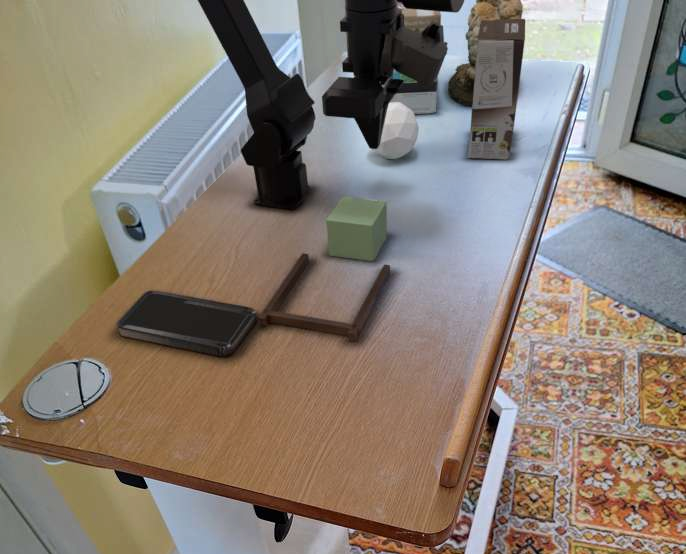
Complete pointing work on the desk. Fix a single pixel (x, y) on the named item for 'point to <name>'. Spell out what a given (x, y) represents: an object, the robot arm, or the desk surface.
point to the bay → (315, 323)
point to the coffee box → (496, 87)
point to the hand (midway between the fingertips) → (374, 147)
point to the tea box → (410, 90)
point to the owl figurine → (490, 5)
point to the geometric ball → (398, 132)
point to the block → (357, 228)
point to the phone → (187, 322)
